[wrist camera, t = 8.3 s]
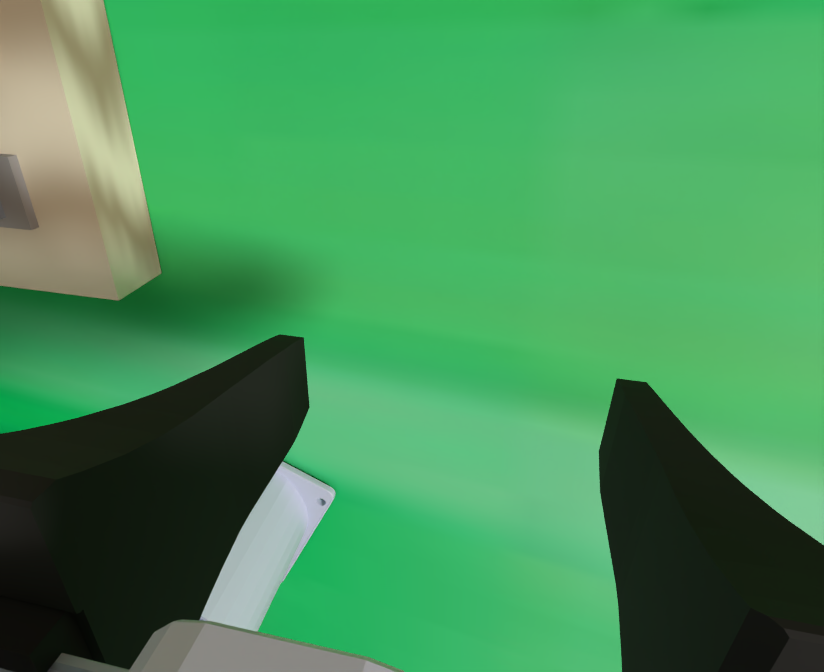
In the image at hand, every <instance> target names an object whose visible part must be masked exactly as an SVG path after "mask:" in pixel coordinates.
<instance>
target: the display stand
mask: <svg viewBox="0 0 824 672" xmlns="http://www.w3.org/2000/svg"><path fill="white" fill-rule="evenodd" d="M0 201H1V204H2V207H3V210H4V213H5V216H6V218H3V219H1V220H0V286H7V287H15V288H22V289H30V290H38V291H46V292H54V293H62V294H70V295H78V296H86V297H94V298H102V299H110V300H118V301H119V300H121V299H122V298H124V297H125V296H127V295H128V294H130V293H132V292H133V291H135V290H136V289H138V288H139V287H141V286H142V285H144V284H146V283H147V282H149V281H150V280H152V279H153V278H155V277H156V276H158V275H160V274H161V268H160V263H159V259H158V254H157V249H156V245H155V240H154V235H153V231H152V226H151V221H150V216H149V212H148V207H147V202H146V198H145V193H144V188H143V184H142V179H141V174H140V170H139V165H138V160H137V156H136V151H135V146H134V142H133V137H132V132H131V127H130V123H129V118H128V113H127V109H126V104H125V99H124V95H123V90H122V85H121V81H120V76H119V71H118V67H117V62H116V57H115V52H114V48H113V43H112V38H111V34H110V29H109V24H108V20H107V15H106V10H105V6H104V1H103V0H0Z"/></svg>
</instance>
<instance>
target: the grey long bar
mask: <svg viewBox="0 0 824 672" xmlns="http://www.w3.org/2000/svg"><path fill="white" fill-rule="evenodd" d="M3 218H6V216H5V213H4V210H3V207H2V204H1V201H0V220H1V219H3Z"/></svg>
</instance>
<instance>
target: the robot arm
mask: <svg viewBox="0 0 824 672" xmlns="http://www.w3.org/2000/svg"><path fill="white" fill-rule="evenodd" d="M308 409H309V397H308V385H307V373H306V361H305V349H304V338H302V337H295V336H287V335H277V336H275V337H272V338H270V339H268V340H266V341H264V342H262V343H260V344H258V345H256V346H254V347H252V348H250V349H248V350H246V351H244V352H242V353H240V354H238V355H236V356H234V357H232V358H230V359H228V360H226V361H225V362H223V363H221V364H219V365H217V366H215V367H213V368H211V369H209V370H206V371H204V372H202V373H200V374H198V375H195V376H193V377H191V378H189V379H187V380H185V381H182V382H180V383H178V384H176V385H174V386H171V387H169V388H167V389H164V390H162V391H159V392H157V393H154V394H151V395H149V396H146V397H143V398H140V399H138V400H135V401H132V402H129V403H126V404H123V405H120V406H117V407H113V408H110V409H106V410H103V411H100V412H96V413H93V414H89V415H86V416H83V417H79V418H75V419H71V420H67V421H63V422H58V423H54V424H50V425H45V426H40V427H36V428H31V429H26V430H21V431H15V432H10V433H3V434H0V672H404V671H403V670H400V669H397V668H395V667H392V666H390V665H387V664H385V663H382V662H380V661H377V660H374V659H372V658H369V657H366V656H361V655H357V654H352V653H348V652H344V651H339V650H335V649H331V648H326V647H322V646H318V645H313V644H309V643H304V642H300V641H296V640H291V639H287V638H283V637H278V636H274V635H270V634H265V633H261V632H257V631H258V629H259V627H260V625H261V623H262V621H263V619H264V617H265V615H266V613H267V610H268V608H269V606H270V604H271V602H272V600H273V598H274V596H275V594H276V592H277V590H278V588H279V585H280V583H281V582H283V580H284V579H285V577H286V576H287V574H288V572H289V571H290V569H291V568H292V566H293V564H294V563H295V561H296V559H297V558H298V556H299V555H300V553H301V551H302V550H303V548H304V546H305V545H306V543H307V542H308V540H309V538H310V537H311V535H312V534H313V532H314V530H315V529H316V527H317V525H318V524H319V522H320V521H321V519H322V517H323V516H324V514H325V512H326V511H327V509H328V508H329V506H330V504H331V503H332V501H333V499H334V497H335V491H334V489H333V488H332V487H330V486H328V485H327V484H325V483H323V482H321V481H319V480H317V479H315V478H313V477H311V476H309V475H308V474H306V473H304V472H302V471H300V470H298V469H296V468H294V467H292V466H290V465H288V464H287V463H285V462H283V460H284V458H285V456H286V455H287V453H288V452H289V450H290V448H291V447H292V445H293V443H294V441H295V439H296V437H297V435H298V433H299V431H300V428H301V426H302V424H303V421H304V419H305V416H306V414H307V412H308ZM599 472H600V493H601V499H602V506H603V512H604V518H605V524H606V529H607V535H608V541H609V547H610V553H611V558H612V564H613V570H614V576H615V582H616V589H617V597H618V606H619V622H620V638H621V656H622V672H824V545H822V544H821V543H819V542H818V541H817V540H815V539H814V538H812V537H811V536H809V535H808V534H807V533H805V532H804V531H802V530H801V529H800V528H798V527H797V526H795V525H794V524H792V523H791V522H790V521H788V520H787V519H786V518H784V517H783V516H782V515H780V514H779V513H778V512H776V511H775V510H774V509H773V508H771V507H770V506H769V505H768V504H766V503H765V502H764V501H763V500H762V499H760V498H759V497H758V496H757V495H755V494H754V493H753V492H752V491H751V490H749V489H748V488H747V487H746V486H745V485H743V484H742V483H741V482H740V481H739V480H738V479H737V478H736V477H734V476H733V475H732V474H731V473H730V472H729V471H728V470H727V469H726V468H725V467H724V466H723V465H722V464H721V463H720V462H719V461H718V460H717V459H716V458H714V457H713V456H712V455H711V454H710V453H709V452H708V451H707V450H706V449H705V447H704V446H703V445H702V444H701V443H700V442H699V441H698V440H697V439H696V438H695V437H694V436H693V435H692V434H691V433H690V432H689V431H688V429H687V428H686V427H685V426H684V425H683V424H682V423H681V422H680V420H679V419H678V418H677V417H676V416H675V415H674V414H673V412H672V411H671V410H670V409H669V408H668V407H667V406H666V404H665V403H664V402H663V401H662V400H661V398H660V397H659V396H658V395H657V394H656V393H655V391H654V390H653V389H652V388H651V387H650V386H649V385H648V384H647V382H640V381H632V380H624V379H617V380H616V384H615V388H614V392H613V396H612V401H611V405H610V409H609V413H608V417H607V421H606V425H605V429H604V433H603V437H602V441H601V445H600V449H599ZM322 499H323V500H322Z"/></svg>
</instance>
